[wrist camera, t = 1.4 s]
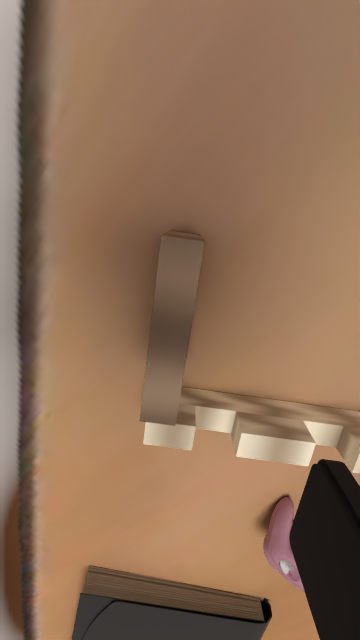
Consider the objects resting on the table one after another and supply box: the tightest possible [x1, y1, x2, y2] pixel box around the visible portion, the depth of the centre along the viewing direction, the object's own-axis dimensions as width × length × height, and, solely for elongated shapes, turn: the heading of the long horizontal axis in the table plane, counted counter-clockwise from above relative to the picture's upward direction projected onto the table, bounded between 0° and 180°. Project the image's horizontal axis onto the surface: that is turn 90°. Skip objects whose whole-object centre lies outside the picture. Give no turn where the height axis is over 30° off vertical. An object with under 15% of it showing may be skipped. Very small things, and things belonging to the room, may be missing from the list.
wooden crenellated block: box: [143, 387, 360, 473], centre depth 28 cm, size 22×2×6 cm, turn 82°
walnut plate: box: [140, 230, 205, 426], centre depth 23 cm, size 12×2×10 cm, turn 172°
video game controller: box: [263, 497, 304, 591], centre depth 34 cm, size 10×5×7 cm, turn 57°
